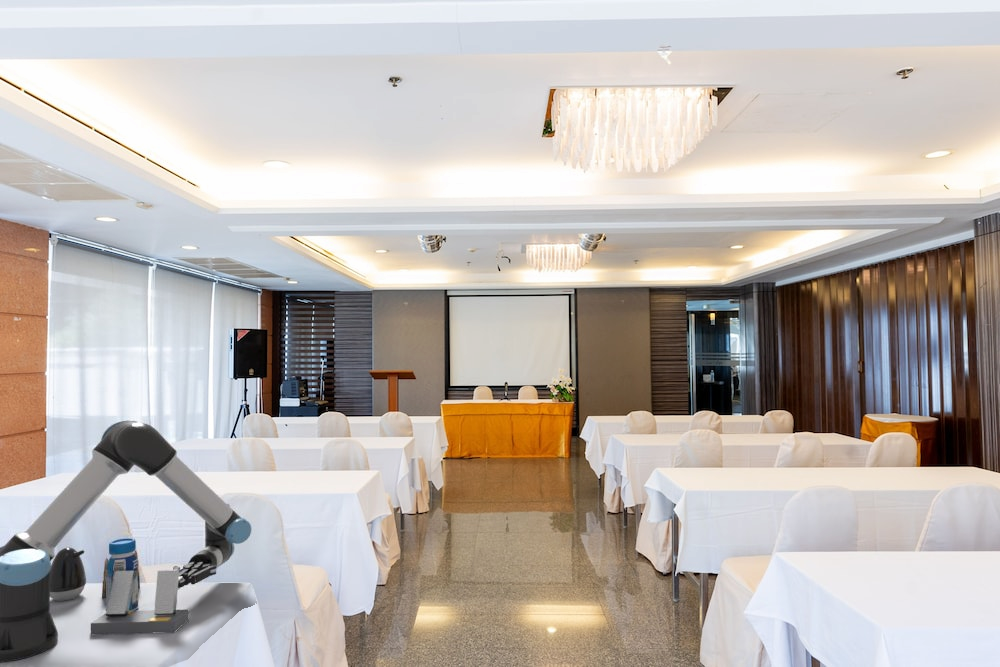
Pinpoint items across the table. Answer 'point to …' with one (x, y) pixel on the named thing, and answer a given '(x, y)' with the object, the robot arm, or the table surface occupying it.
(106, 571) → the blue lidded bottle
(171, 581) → the right lever
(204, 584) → the table surface
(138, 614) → the switch base
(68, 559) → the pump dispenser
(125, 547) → the beverage bottle
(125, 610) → the left lever
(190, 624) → the table surface
